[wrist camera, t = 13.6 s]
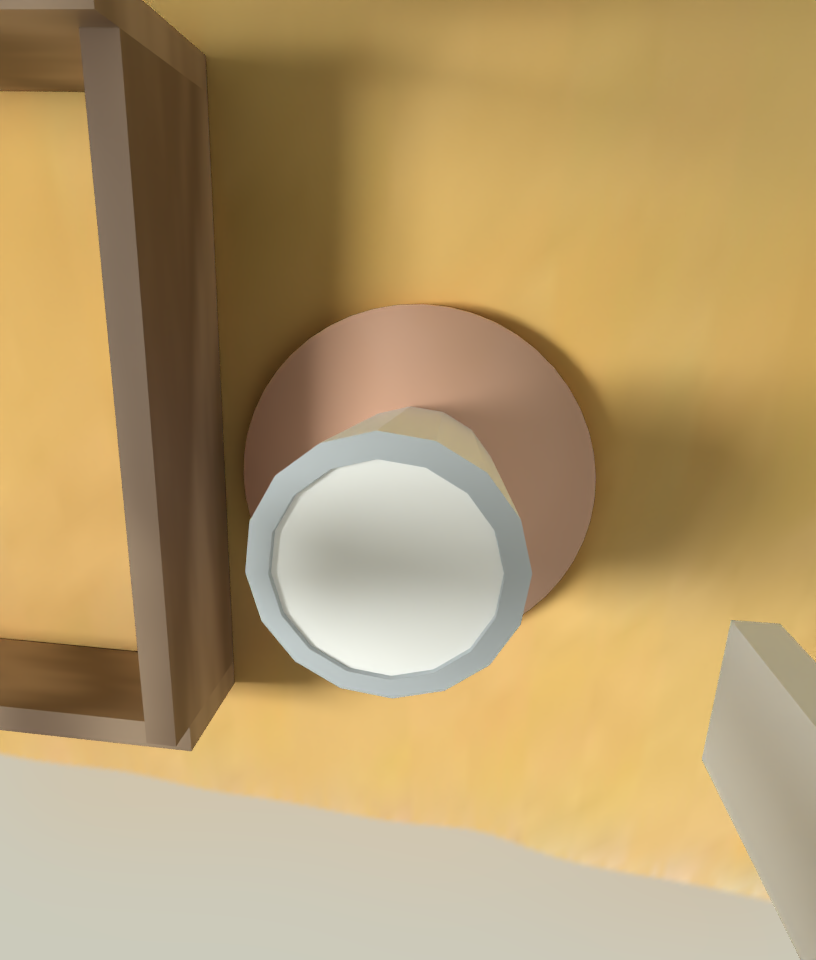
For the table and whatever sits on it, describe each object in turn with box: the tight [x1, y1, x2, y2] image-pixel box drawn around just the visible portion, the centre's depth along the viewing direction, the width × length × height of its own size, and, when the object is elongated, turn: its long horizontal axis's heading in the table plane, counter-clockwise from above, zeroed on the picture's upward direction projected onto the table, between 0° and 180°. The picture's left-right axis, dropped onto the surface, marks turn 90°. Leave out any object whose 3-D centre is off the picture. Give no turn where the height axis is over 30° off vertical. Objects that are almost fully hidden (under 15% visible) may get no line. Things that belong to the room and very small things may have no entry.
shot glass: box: [245, 406, 532, 698], centre depth 18 cm, size 7×7×7 cm
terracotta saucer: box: [244, 304, 596, 614], centre depth 22 cm, size 12×12×1 cm
